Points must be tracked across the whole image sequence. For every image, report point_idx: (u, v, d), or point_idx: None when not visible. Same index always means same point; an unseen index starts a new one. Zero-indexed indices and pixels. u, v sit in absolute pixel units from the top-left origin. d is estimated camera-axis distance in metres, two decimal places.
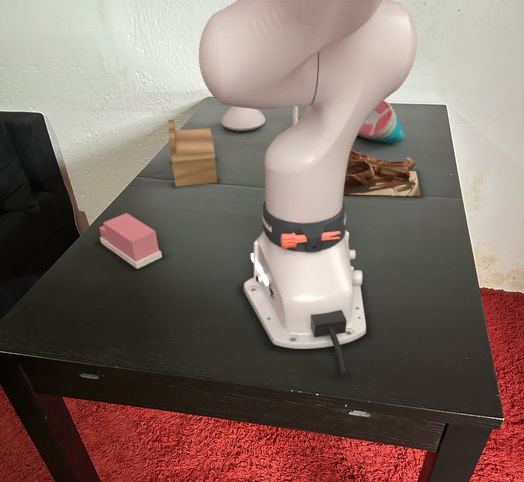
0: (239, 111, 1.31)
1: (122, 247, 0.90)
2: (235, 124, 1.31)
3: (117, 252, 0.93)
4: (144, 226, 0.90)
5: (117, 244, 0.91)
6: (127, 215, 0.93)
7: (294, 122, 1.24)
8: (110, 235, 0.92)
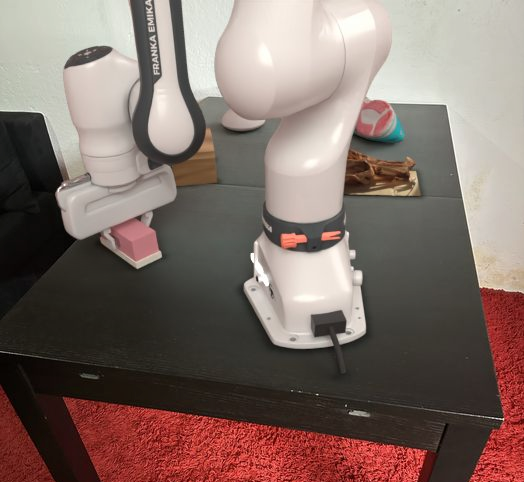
0: None
1: (122, 247, 0.90)
2: (235, 124, 1.31)
3: (117, 252, 0.93)
4: (144, 226, 0.90)
5: None
6: None
7: None
8: (110, 235, 0.92)
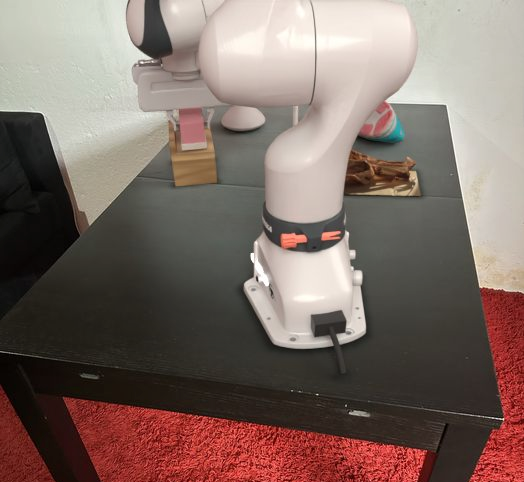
0: (239, 111, 1.31)
1: None
2: (235, 124, 1.31)
3: None
4: (200, 117, 1.07)
5: None
6: (199, 108, 1.11)
7: (294, 122, 1.24)
8: None
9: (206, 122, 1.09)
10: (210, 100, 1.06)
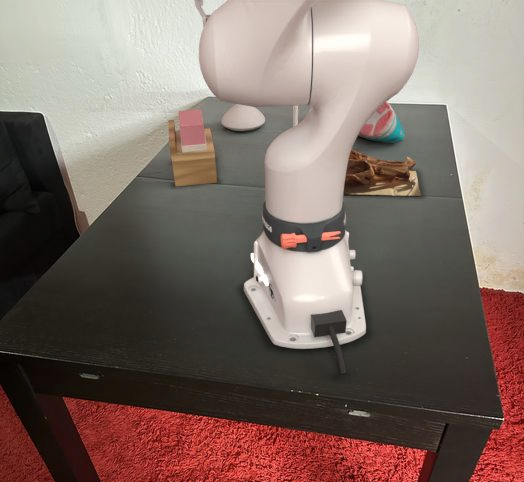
0: (239, 111, 1.31)
1: None
2: (235, 124, 1.31)
3: None
4: (200, 119, 1.07)
5: None
6: (199, 110, 1.11)
7: (294, 122, 1.24)
8: None
9: None
10: None
